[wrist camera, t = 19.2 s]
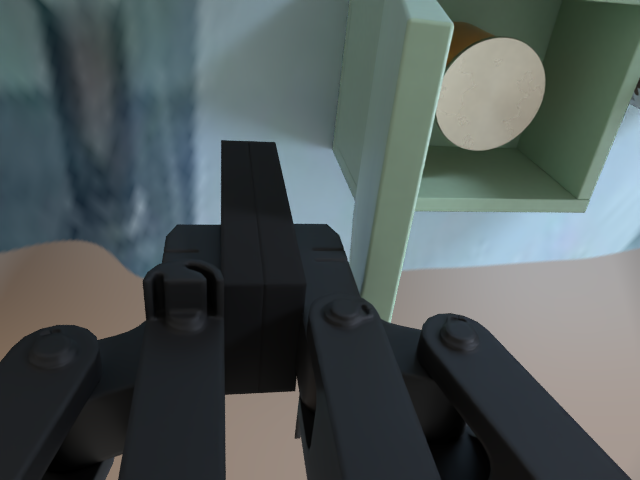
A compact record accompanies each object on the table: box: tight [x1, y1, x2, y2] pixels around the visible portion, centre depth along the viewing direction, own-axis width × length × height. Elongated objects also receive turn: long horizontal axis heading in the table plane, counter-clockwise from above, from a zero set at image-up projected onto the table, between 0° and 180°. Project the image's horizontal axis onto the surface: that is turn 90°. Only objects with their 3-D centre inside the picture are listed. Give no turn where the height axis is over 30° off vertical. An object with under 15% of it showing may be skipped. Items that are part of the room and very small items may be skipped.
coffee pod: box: [435, 22, 545, 151], centre depth 28 cm, size 6×6×6 cm
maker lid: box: [349, 0, 454, 323], centre depth 17 cm, size 13×11×1 cm
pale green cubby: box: [332, 0, 640, 213], centre depth 28 cm, size 13×11×8 cm
